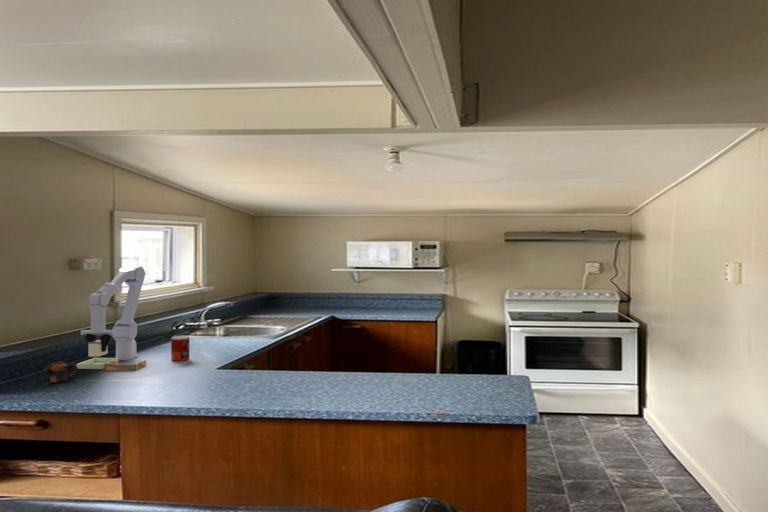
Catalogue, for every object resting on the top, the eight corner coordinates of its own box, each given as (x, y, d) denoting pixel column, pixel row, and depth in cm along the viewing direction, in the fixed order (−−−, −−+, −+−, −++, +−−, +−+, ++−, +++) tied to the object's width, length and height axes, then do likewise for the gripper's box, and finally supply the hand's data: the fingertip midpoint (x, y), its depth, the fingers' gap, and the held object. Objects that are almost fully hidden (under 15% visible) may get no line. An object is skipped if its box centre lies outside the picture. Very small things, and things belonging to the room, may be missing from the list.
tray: (94, 363, 232) (94, 357, 232) (118, 363, 232) (118, 358, 232) (76, 369, 219) (76, 363, 219) (102, 370, 219) (102, 364, 219)
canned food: (183, 362, 234) (183, 338, 234) (167, 362, 235) (167, 338, 235) (192, 359, 242) (192, 336, 242) (177, 358, 243) (177, 335, 243)
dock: (116, 366, 226) (116, 359, 226) (146, 366, 225) (146, 360, 225) (104, 371, 216) (104, 364, 216) (134, 371, 216) (134, 364, 216)
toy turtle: (42, 385, 195) (38, 365, 198) (49, 390, 203) (45, 371, 206) (77, 374, 200) (73, 355, 202) (83, 380, 208) (79, 361, 210)
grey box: (98, 353, 229) (98, 339, 229) (108, 353, 229) (108, 339, 229) (88, 356, 222) (88, 342, 222) (98, 356, 222) (98, 342, 222)
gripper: (76, 321, 221) (76, 353, 221) (109, 321, 221) (109, 353, 221) (86, 319, 229) (86, 349, 229) (118, 319, 228) (118, 350, 228)
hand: (98, 351), depth 225 cm, fingers closed on grey box, 4 cm apart
